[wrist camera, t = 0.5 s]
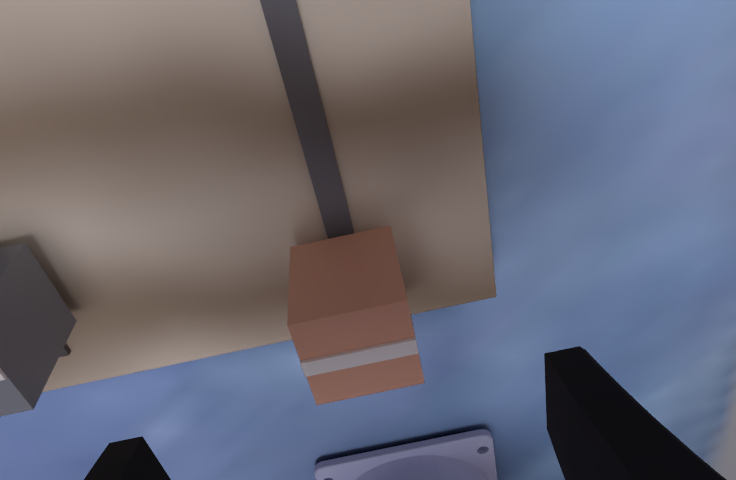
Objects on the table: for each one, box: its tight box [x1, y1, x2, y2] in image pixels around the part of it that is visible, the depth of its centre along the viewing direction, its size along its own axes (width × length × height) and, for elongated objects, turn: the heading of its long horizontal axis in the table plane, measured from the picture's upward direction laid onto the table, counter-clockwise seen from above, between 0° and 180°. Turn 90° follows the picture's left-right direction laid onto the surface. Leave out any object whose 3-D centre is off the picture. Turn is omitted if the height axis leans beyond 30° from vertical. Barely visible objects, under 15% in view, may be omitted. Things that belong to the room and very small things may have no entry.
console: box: [0, 0, 496, 392], centre depth 16 cm, size 16×19×2 cm
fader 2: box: [287, 226, 425, 405], centre depth 16 cm, size 3×3×4 cm
